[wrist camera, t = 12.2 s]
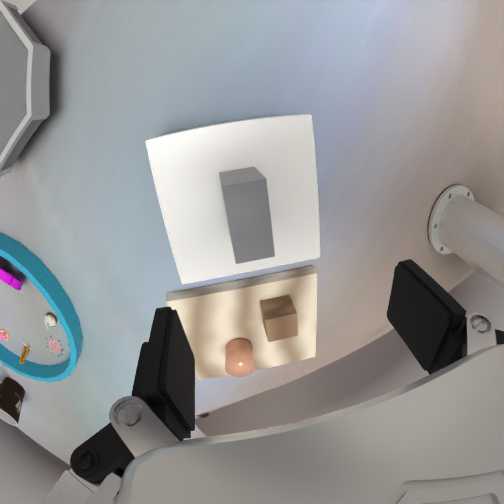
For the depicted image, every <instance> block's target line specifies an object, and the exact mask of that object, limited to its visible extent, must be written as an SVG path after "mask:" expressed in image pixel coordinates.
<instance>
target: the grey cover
mask: <svg viewBox="0 0 504 504" xmlns="http://www.w3.org/2000/svg"><path fill="white" fill-rule="evenodd" d="M146 146H147V151H148V156H149V160H150V165H151V170H152V174H153V178H154V183H155V187H156V191H157V195H158V199H159V203H160V207H161V211H162V215H163V219H164V223H165V227H166V230H167V234H168V238H169V241H170V245H171V248H172V252H173V255H174V259H175V262H176V265H177V269H178V272H179V275H180V278H181V282H182V284H187V283H193V282H198V281H204V280H209V279H214V278H220V277H225V276H230V275H235V274H241V273H246V272H251V271H256V270H261V269H266V268H271V267H276V266H281V265H286V264H291V263H296V262H301V261H306V260H311V259H315V258H320V228H319V203H318V185H317V169H316V156H315V144H314V133H313V123H312V114H305V115H280V116H270V117H261V118H253V119H245V120H238V121H231V122H225V123H219V124H213V125H207V126H202V127H197V128H192V129H187V130H182V131H178V132H173V133H169V134H165V135H161V136H158V137H155V138H152V139H149V140H146Z"/></svg>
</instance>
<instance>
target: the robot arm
mask: <svg viewBox="0 0 504 504" xmlns="http://www.w3.org/2000/svg"><path fill="white" fill-rule="evenodd" d="M428 234H429V240H430V244H431V245H432V247H433V248H434V249H435V250H436V251H437V252H439V253H440V254H450V253H452V252H453V253H455V254H456V255H458V256H459V257H460V258H461V259H463V260H464V261H465V262H467V263H468V264H469V265H471V266H472V267H473V268H474V269H476V270H477V271H478V272H479V273H481V274H482V275H483V276H484V277H486V278H487V279H488V280H489V281H490V282H492V283H493V284H494V285H495V286H497V288H499V289H500V290H501V291H502V292H503V293H504V217H503V216H502V215H500V214H498V213H496V212H494V211H493V210H491V209H489V208H487V207H485V206H483V205H481V204H479V203H477V202H475V200H474V197H473V194H472V192H471V191H470V190H469V189H468V188H467V187H465V186H462V185H453V186H450V187H449V188H448V189H446V190H445V191H444V192H443V193H442V194H441V196H440V197H439V198H438V200H437V202H436V203H435V205H434V208H433V210H432V213H431V216H430V220H429V228H428ZM465 314H466V310H465V309H464V308H462V307H461V305H460V304H459V303H458V302H456V300H455V299H454V298H453V297H452V296H450V295H449V294H448V293H447V292H446V291H445V290H444V289H443V288H442V287H441V286H440V285H439V284H438V283H437V282H436V281H435V280H434V279H433V278H431V277H430V276H429V275H428V274H427V273H426V272H425V271H424V270H423V269H422V268H420V267H419V266H418V265H417V264H416V263H415V262H414V261H412V260H411V259H409V260H405V261H401V262H399V263H398V265H397V266H396V267H395V272H394V278H393V284H392V290H391V295H390V300H389V305H388V310H387V318H388V320H389V321H390V323H391V324H392V326H393V327H394V328H395V330H396V331H397V332H398V334H399V335H400V336H401V338H402V339H403V341H404V342H405V343H406V344H407V346H408V348H409V349H410V351H411V352H412V353H413V355H414V356H415V358H416V359H417V361H418V362H419V363H420V365H421V367H422V368H423V369H424V370H427V371H428V373H429V374H430V375H429V376H426V377H424V378H422V379H420V380H418V381H416V382H413V383H411V384H409V385H407V386H404V387H402V388H400V389H397V390H395V391H392V392H390V393H387V394H385V395H382V396H379V397H377V398H374V399H371V400H369V401H366V402H363V403H360V404H357V405H354V406H351V407H348V408H345V409H342V410H338V411H335V412H332V413H328V414H325V415H321V416H317V417H314V418H310V419H306V420H302V421H298V422H293V423H289V424H284V425H279V426H274V427H269V428H264V429H258V430H253V431H247V432H240V433H234V434H227V435H219V436H212V437H204V438H196V439H190V440H184V441H183V438H191V431H194V430H195V358H194V354H193V352H192V349H191V347H190V344H189V342H188V339H187V336H186V334H185V331H184V329H183V326H182V323H181V321H180V318H179V315H178V313H177V310H176V309H174V310H172V308H171V307H170V306H169V307H163V308H157V309H156V311H155V315H154V320H153V324H152V329H151V333H150V338H149V342H144V343H143V344H142V347H141V351H140V356H139V360H138V365H137V370H136V375H135V380H134V385H133V391H132V396H128V397H123V398H121V399H119V400H118V401H117V402H115V403H114V404H113V406H112V408H111V410H110V413H109V419H110V423H109V424H108V425H106V426H105V427H104V428H103V429H101V430H100V431H99V432H97V433H96V434H95V435H93V436H92V437H91V438H89V439H88V440H87V441H85V442H84V443H83V444H81V445H80V446H79V447H77V448H76V449H75V450H74V451H73V453H72V455H71V459H70V464H71V469H70V471H67V470H65V472H64V473H63V474H62V476H61V477H60V479H59V480H58V481H57V483H56V484H55V486H54V487H53V488H52V490H51V491H50V492H49V494H48V495H47V497H46V498H45V500H44V502H43V504H113V502H112V500H113V498H114V497H115V495H116V494H119V498H118V504H504V332H503V331H500V330H496V329H495V327H494V324H493V321H492V320H491V319H490V318H489V317H488V316H486V315H485V314H482V313H472V314H470V315H469V316H468V317H467V318H466V317H465ZM440 369H441V370H440Z"/></svg>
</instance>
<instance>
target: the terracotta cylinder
mask: <svg viewBox="0 0 504 504" xmlns="http://www.w3.org/2000/svg"><path fill="white" fill-rule="evenodd" d="M225 370H226V372H227V373H228V374H230V375H232V376H236V377H243V376H247V375H249V374H251V373H252V372H253V370H254V361H253V346H252V344H251V343H250V342H249V341H247V340H244V339H235V340H232V341H230V342H228V343H227V345H226V355H225Z"/></svg>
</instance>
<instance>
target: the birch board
mask: <svg viewBox="0 0 504 504" xmlns="http://www.w3.org/2000/svg"><path fill="white" fill-rule="evenodd" d="M285 295H289V296H290V298H291V300H292V303H293V305H294V307H295V309H296V311H297V319H298V336H295V337H290V338H286V339H282V340H277V341H272V342H268V340H267V336H266V332H265V329H264V325H263V321H262V314H261V307H260V300H265V299H270V298H275V297H280V296H285ZM166 303H167V306H168V307H169V306H170V307H171V308H172V310H174V309H176V310H177V313H178V315H179V318H180V321H181V323H182V326H183V329H184V331H185V334H186V336H187V339H188V342H189V344H190V347H191V349H192V352H193V354H194V358H195V373H196V376H197V378H198V380H199V379H207V378H214V377H220V376H227V375H230V374H228V373H227V372H226V370H225V355H226V345H227V343H228V342H230V341H232V340H235V339H244V340H247V341H249V342H250V343H251V344H252V346H253V361H254V370H259V369H264V368H269V367H274V366H278V365H283V364H287V363H291V362H296V361H300V360H304V359H308V358H311V357H315V351H316V323H317V272H316V271H315V269H314V268H313V266H308V267H303V268H298V269H293V270H288V271H283V272H278V273H273V274H268V275H263V276H258V277H253V278H247V279H242V280H237V281H231V282H226V283H221V284H215V285H210V286H204V287H199V288H193V289H187V290H182V291H176V292H170V293H167V299H166ZM254 370H253V371H254Z"/></svg>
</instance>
